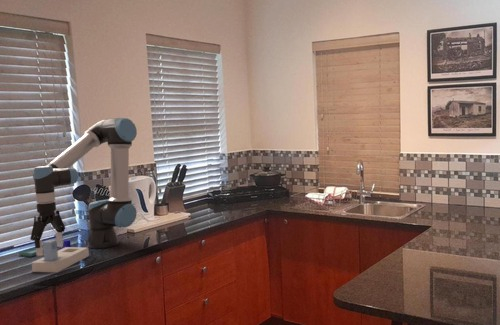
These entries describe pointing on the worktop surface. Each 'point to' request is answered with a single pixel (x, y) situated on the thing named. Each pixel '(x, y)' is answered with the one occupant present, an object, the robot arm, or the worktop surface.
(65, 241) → the blue angular bent piece
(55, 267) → the socket strip
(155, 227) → the worktop surface
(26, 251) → the rectangular tray
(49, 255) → the plug
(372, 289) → the worktop surface
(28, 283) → the worktop surface
